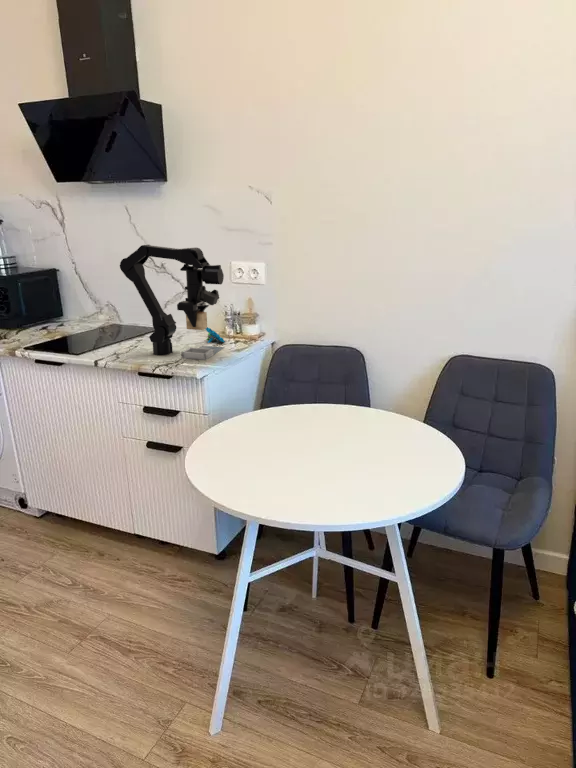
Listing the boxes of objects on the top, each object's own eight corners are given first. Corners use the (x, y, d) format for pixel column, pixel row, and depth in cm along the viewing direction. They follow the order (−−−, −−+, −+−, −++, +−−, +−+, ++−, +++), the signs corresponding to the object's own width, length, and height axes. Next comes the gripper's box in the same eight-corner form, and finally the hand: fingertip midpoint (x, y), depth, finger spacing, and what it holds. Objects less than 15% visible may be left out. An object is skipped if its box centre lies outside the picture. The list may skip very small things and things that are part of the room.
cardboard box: (186, 329, 203) (185, 312, 201) (191, 326, 207) (190, 310, 205) (202, 330, 202) (202, 313, 200) (207, 327, 205) (206, 311, 203)
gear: (229, 341, 227) (211, 326, 222) (220, 352, 226) (201, 337, 221) (220, 339, 236) (203, 324, 232) (212, 350, 236) (194, 335, 231)
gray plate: (205, 362, 202) (204, 354, 201) (180, 360, 204) (179, 352, 204) (225, 349, 220) (225, 342, 219) (202, 348, 223) (202, 340, 222)
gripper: (204, 287, 189) (206, 332, 193) (225, 281, 206) (226, 322, 210) (175, 286, 191) (177, 330, 196) (197, 280, 208) (199, 320, 213)
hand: (196, 325), depth 204 cm, fingers closed on cardboard box, 4 cm apart
